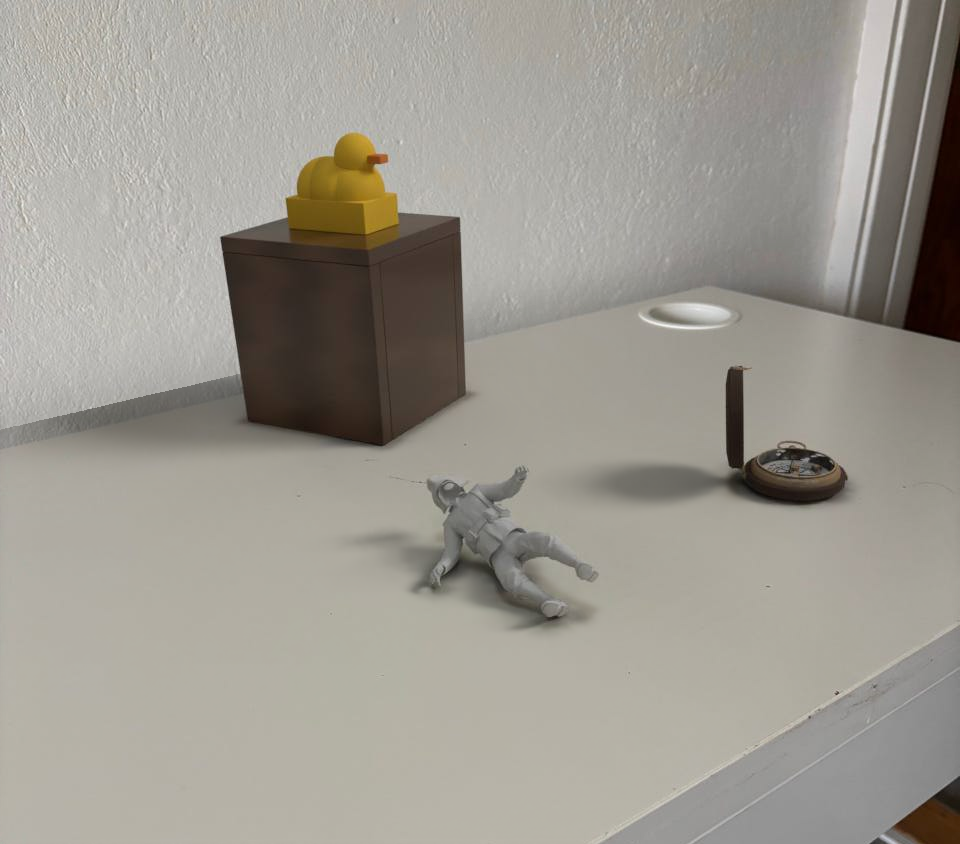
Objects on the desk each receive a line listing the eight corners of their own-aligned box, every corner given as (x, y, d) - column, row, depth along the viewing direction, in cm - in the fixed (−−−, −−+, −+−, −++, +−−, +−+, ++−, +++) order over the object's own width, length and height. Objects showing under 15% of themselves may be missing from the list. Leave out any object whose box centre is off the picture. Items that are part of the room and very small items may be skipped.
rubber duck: (288, 228, 71) (277, 134, 68) (323, 218, 74) (314, 127, 71) (372, 235, 68) (364, 137, 65) (405, 224, 72) (399, 130, 68)
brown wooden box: (247, 420, 76) (219, 236, 70) (339, 374, 85) (322, 206, 78) (383, 445, 72) (368, 250, 65) (466, 393, 80) (460, 216, 74)
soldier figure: (504, 658, 50) (360, 516, 55) (540, 676, 54) (403, 542, 60) (611, 537, 49) (454, 403, 54) (639, 564, 53) (491, 438, 59)
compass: (850, 507, 61) (872, 387, 57) (715, 499, 63) (727, 382, 59) (839, 456, 68) (857, 346, 64) (716, 450, 69) (727, 342, 66)
